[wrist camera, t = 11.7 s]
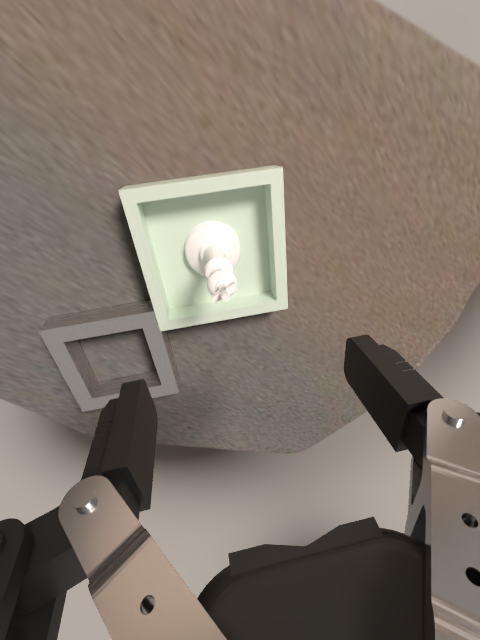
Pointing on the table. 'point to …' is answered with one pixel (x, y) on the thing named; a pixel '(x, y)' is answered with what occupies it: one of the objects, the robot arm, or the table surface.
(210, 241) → the chess piece
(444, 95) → the table surface
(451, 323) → the table surface
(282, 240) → the tray
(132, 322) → the collar block
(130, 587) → the robot arm
